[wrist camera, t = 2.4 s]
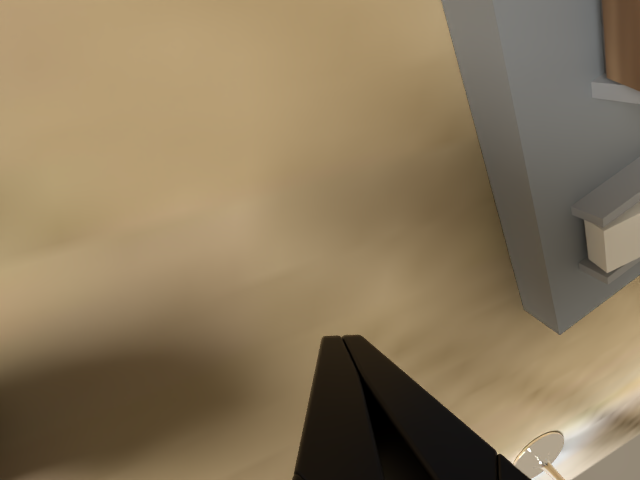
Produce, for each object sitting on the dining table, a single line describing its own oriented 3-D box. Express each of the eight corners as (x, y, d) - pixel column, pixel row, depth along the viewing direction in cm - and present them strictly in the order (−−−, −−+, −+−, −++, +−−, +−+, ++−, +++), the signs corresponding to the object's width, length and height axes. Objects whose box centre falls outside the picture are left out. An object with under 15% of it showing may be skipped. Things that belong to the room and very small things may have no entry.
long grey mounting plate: (524, 309, 29) (593, 359, 25) (270, -641, 10) (384, -1245, 5) (630, 231, 30) (716, 265, 25) (596, -797, 10) (946, -1437, 6)
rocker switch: (588, 258, 24) (607, 273, 22) (583, 217, 22) (603, 231, 21) (671, 218, 23) (694, 230, 22) (673, 173, 21) (699, 184, 20)
